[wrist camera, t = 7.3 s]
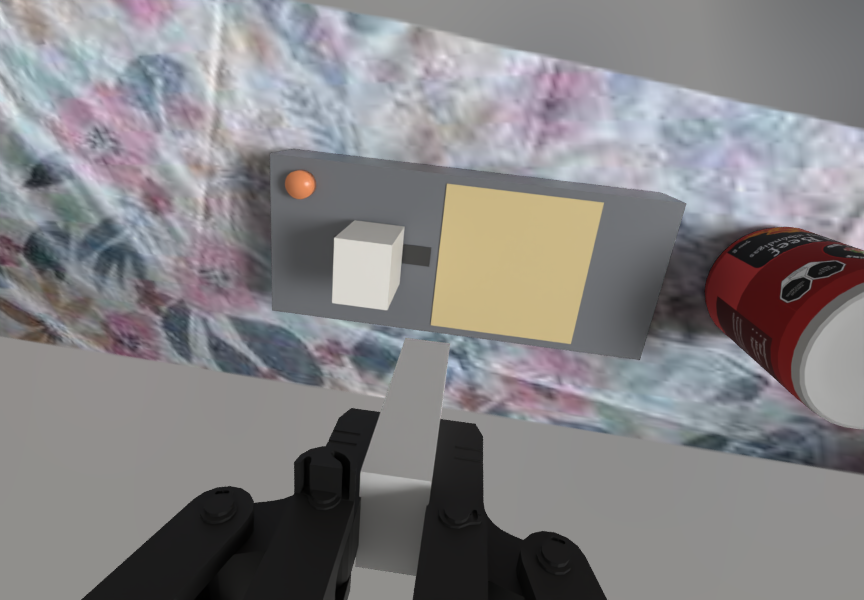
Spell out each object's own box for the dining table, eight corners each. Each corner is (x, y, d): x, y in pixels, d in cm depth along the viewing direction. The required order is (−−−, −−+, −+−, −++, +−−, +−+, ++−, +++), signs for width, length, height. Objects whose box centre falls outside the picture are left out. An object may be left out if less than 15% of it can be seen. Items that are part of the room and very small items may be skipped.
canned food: (846, 232, 31) (1027, 291, 21) (795, 344, 34) (932, 444, 24) (725, 214, 31) (845, 263, 21) (684, 326, 34) (772, 417, 24)
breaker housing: (661, 192, 31) (692, 205, 27) (622, 333, 35) (643, 366, 30) (293, 148, 32) (264, 154, 28) (293, 289, 36) (267, 315, 31)
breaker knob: (404, 226, 29) (392, 245, 25) (399, 283, 30) (387, 310, 26) (354, 220, 29) (334, 237, 25) (351, 277, 30) (331, 302, 26)
